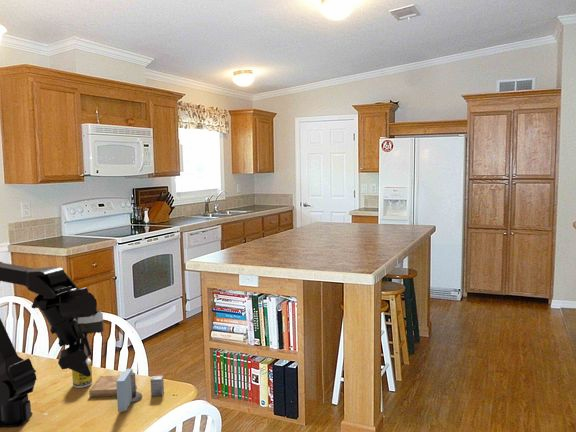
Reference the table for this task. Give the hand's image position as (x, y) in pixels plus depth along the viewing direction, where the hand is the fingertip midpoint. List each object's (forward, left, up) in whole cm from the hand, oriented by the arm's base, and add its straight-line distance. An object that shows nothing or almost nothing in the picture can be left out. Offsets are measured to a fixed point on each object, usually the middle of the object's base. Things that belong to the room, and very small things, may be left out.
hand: (89, 365), depth 129 cm
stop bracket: (+14, +12, -14) cm, 23 cm away
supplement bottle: (-10, +21, -14) cm, 28 cm away
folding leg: (+7, +6, -13) cm, 16 cm away
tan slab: (+3, +15, -14) cm, 21 cm away
